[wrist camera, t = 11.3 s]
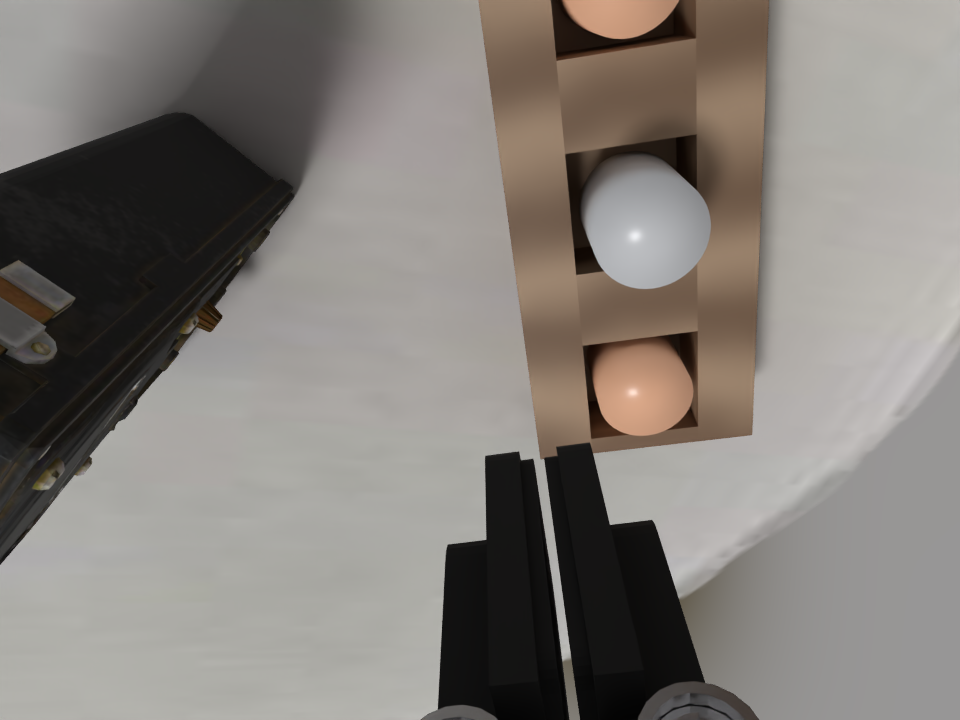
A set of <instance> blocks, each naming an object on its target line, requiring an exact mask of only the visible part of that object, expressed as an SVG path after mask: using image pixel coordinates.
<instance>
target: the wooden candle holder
mask: <svg viewBox="0 0 960 720" xmlns="http://www.w3.org/2000/svg"><path fill="white" fill-rule="evenodd" d="M479 8H480V15H481V22H482V30H483V37H484V45H485V52H486V59H487V67H488V74H489V82H490V89H491V96H492V104H493V111H494V119H495V126H496V133H497V141H498V148H499V155H500V163H501V170H502V178H503V185H504V192H505V200H506V207H507V215H508V222H509V229H510V237H511V244H512V252H513V259H514V266H515V274H516V281H517V288H518V296H519V303H520V311H521V318H522V325H523V333H524V340H525V348H526V355H527V362H528V370H529V377H530V385H531V392H532V399H533V407H534V414H535V421H536V429H537V436H538V444H539V451H540V458H541V459H544V457H552V456H557V450H556V447H558V446H566V445H573V444H581V443H589V442H590V444H591V447H592V452H593V453H600V452H608V451H617V450H626V449H635V448H643V447H652V446H661V445H669V444H678V443H687V442H695V441H704V440H713V439H721V438H730V437H739V436H747V435H752V425H753V399H754V373H755V347H756V322H757V296H758V270H759V244H760V218H761V193H762V167H763V141H764V115H765V89H766V64H767V38H768V12H769V0H679V2H678V3H677V5H676V6H675V8H674V9H673V11H672V12H671V13H670V14H669V16H668V17H667V18H666V19H665V20H664V21H663V22H662V23H660V24H659V25H658V26H656V27H655V28H654V29H652V30H650V31H649V32H647V33H645V34H642V35H640V36H637V37H633V38H627V39H613V38H608V37H604V36H601V35H598V34H595V33H592V32H589V31H586V30H584V29H582V28H580V27H578V26H577V25H575V24H574V23H573V22H572V21H571V20H570V19H569V18H568V17H567V16H566V15H565V13H564V12H563V10H562V9H561V7H560V5H559V3H558V0H479ZM627 151H643V152H648V153H651V154H654V155H656V156H658V157H660V158H661V159H663V160H664V161H666V162H667V163H668V164H669V165H670V166H671V167H672V168H673V169H674V170H675V171H676V172H677V173H679V174H680V175H681V176H682V177H683V178H684V179H685V180H686V181H687V182H688V183H689V184H690V185H691V186H692V187H694V188H695V189H696V190H697V191H698V192H699V194H700V195H701V196H702V198H703V199H704V201H705V203H706V205H707V208H708V210H709V214H710V220H711V231H710V237H709V242H708V244H707V247H706V250H705V252H704V254H703V255H702V257H701V259H700V260H699V262H698V263H697V264H696V265H695V266H694V268H693V269H691V270H690V271H689V272H688V273H687V274H686V275H684V276H683V277H682V278H680V279H678V280H677V281H675V282H673V283H671V284H668V285H665V286H662V287H658V288H653V289H637V288H632V287H628V286H625V285H623V284H621V283H618V282H617V281H615V280H614V279H612V278H611V277H610V276H609V275H607V274H606V273H605V271H604V270H603V269H602V268H601V266H600V265H599V263H598V261H597V259H596V257H595V254H594V252H593V249H592V247H591V244H590V242H589V239H588V237H587V235H586V232H585V230H584V227H583V225H582V222H581V219H580V214H579V199H580V194H581V190H582V188H583V185H584V183H585V181H586V179H587V178H588V176H589V175H590V173H591V172H592V171H593V170H594V169H595V168H596V167H597V166H598V165H599V164H600V163H601V162H603V161H604V160H606V159H608V158H610V157H611V156H613V155H616V154H619V153H623V152H627ZM662 335H668V336H669V338H670V340H671V342H672V343H673V345H674V347H675V349H676V351H677V353H678V355H679V357H680V359H681V360H682V362H683V364H684V366H685V368H686V370H687V372H688V374H689V376H690V378H691V380H692V384H693V399H692V403H691V405H690V407H689V409H688V411H687V413H686V414H685V415H684V417H683V418H682V419H681V420H680V421H679V422H678V423H676V424H675V425H674V426H672V427H671V428H669V429H667V430H665V431H663V432H660V433H657V434H653V435H647V436H635V435H629V434H626V433H623V432H620V431H618V430H617V429H615V428H613V427H612V426H611V425H610V424H609V423H608V422H607V421H606V420H605V418H604V417H603V415H602V413H601V410H600V407H599V404H598V400H597V396H596V392H595V389H594V385H593V381H592V377H591V374H590V370H589V366H588V361H587V351H588V346H589V345H592V344H600V343H608V342H616V341H623V340H631V339H639V338H647V337H655V336H662Z"/></svg>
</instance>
